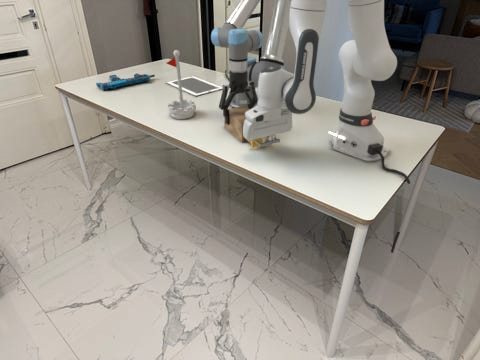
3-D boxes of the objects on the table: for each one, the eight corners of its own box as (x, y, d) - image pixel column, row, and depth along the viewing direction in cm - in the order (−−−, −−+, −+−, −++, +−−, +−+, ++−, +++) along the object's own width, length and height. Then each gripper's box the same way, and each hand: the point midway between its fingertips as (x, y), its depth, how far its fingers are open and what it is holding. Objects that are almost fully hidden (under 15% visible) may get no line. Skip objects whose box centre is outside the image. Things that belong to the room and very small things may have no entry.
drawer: (280, 148, 133) (281, 133, 130) (259, 153, 130) (260, 138, 126) (252, 128, 150) (253, 114, 146) (234, 132, 146) (234, 118, 143)
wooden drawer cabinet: (263, 137, 144) (264, 118, 140) (242, 142, 140) (242, 123, 136) (244, 123, 157) (244, 105, 152) (224, 127, 153) (223, 109, 148)
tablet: (166, 82, 208) (166, 82, 207) (193, 76, 219) (193, 76, 219) (195, 96, 187) (195, 95, 187) (224, 88, 198) (224, 87, 198)
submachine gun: (140, 68, 225) (159, 74, 209) (141, 73, 227) (159, 80, 211) (88, 78, 207) (104, 85, 190) (90, 84, 209) (106, 92, 192)
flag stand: (192, 108, 172) (187, 46, 156) (199, 117, 162) (194, 52, 146) (166, 111, 169) (158, 48, 152) (172, 121, 158) (164, 54, 142)
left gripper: (258, 65, 145) (256, 113, 157) (208, 72, 137) (211, 123, 149) (267, 69, 140) (265, 119, 152) (216, 76, 131) (218, 129, 143)
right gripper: (287, 104, 131) (285, 136, 139) (241, 113, 123) (240, 147, 131) (297, 109, 126) (294, 142, 134) (249, 119, 119) (248, 154, 126)
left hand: (238, 121), depth 150 cm, fingers closed on wooden drawer cabinet, 10 cm apart
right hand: (267, 145), depth 132 cm, fingers closed, pressing on drawer
